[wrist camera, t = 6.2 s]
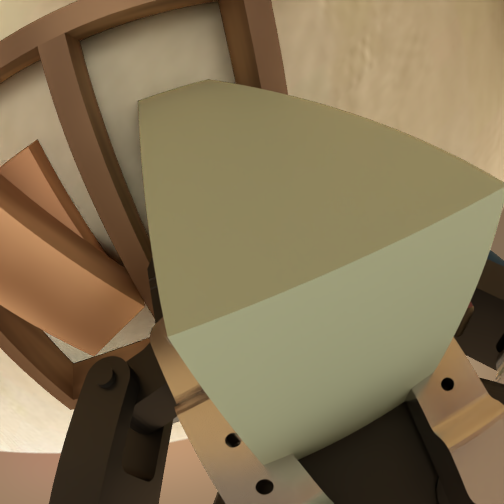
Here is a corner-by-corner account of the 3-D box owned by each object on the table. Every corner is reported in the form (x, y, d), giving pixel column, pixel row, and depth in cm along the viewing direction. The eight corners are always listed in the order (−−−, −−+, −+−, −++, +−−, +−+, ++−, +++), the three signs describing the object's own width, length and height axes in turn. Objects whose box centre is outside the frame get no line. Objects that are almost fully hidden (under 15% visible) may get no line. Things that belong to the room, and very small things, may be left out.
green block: (208, 79, 11) (507, 184, 2) (252, 262, 17) (372, 458, 8) (138, 101, 11) (166, 337, 2) (201, 281, 17) (293, 497, 8)
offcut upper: (-6, 168, 9) (-25, 186, 7) (141, 278, 15) (144, 306, 13) (-40, 240, 10) (-56, 264, 8) (94, 328, 15) (94, 356, 14)
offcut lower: (41, 136, 11) (28, 147, 9) (135, 287, 17) (137, 310, 16) (-22, 184, 10) (-38, 201, 9) (77, 315, 17) (76, 339, 15)
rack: (235, -21, 9) (262, -39, 7) (291, 293, 21) (312, 324, 19) (-86, 132, 6) (-119, 150, 4) (70, 374, 18) (70, 409, 16)
